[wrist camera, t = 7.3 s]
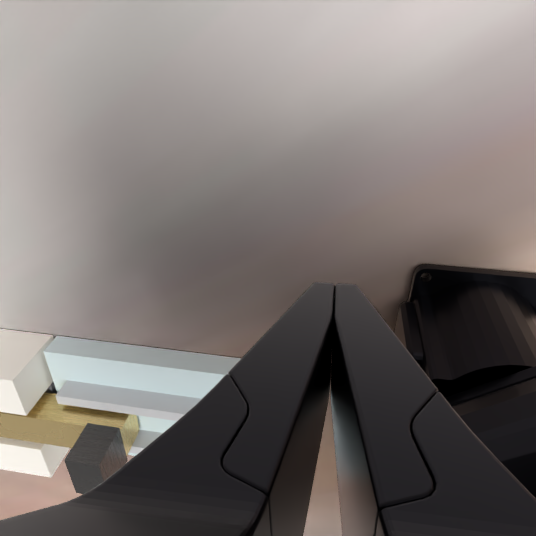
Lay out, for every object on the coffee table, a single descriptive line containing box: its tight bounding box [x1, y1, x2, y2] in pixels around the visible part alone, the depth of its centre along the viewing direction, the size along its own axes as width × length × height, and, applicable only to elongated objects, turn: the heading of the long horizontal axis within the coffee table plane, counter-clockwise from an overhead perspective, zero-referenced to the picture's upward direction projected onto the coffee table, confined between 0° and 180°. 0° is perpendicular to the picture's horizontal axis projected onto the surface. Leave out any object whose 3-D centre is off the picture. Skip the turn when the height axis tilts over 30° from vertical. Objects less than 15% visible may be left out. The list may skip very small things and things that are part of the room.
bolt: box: [0, 392, 140, 494], centre depth 27 cm, size 10×3×4 cm, turn 89°
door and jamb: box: [0, 329, 241, 477], centre depth 28 cm, size 22×9×4 cm, turn 89°
